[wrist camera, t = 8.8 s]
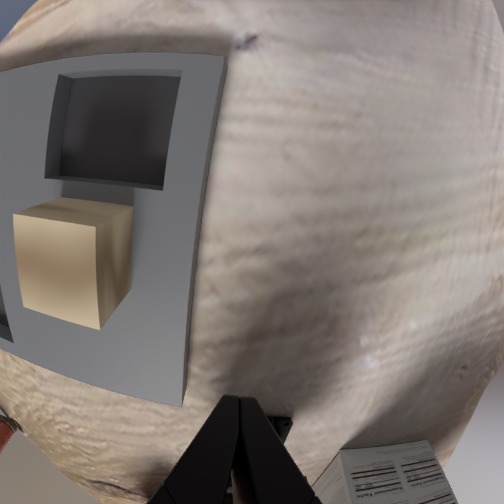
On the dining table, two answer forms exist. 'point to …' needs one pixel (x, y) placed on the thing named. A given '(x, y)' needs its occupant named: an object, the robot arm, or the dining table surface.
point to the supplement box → (385, 477)
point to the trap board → (117, 192)
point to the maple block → (74, 258)
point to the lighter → (6, 431)
